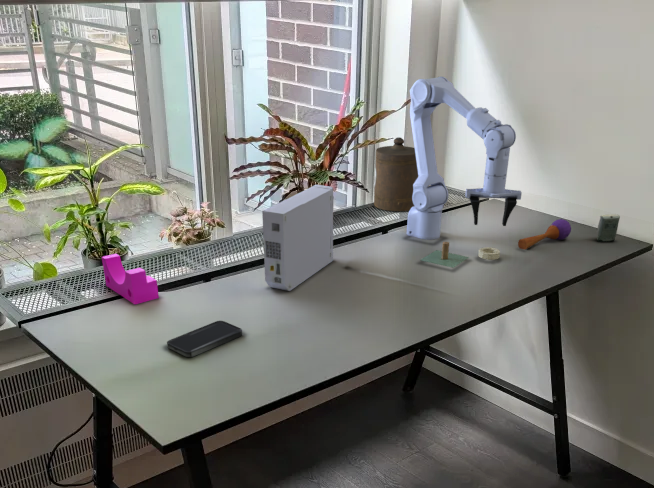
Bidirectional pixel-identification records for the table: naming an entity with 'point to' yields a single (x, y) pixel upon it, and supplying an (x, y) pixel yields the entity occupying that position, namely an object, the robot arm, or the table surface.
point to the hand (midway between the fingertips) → (489, 224)
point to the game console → (298, 237)
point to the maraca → (548, 234)
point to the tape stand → (444, 257)
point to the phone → (204, 338)
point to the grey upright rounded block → (607, 228)
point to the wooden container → (395, 177)
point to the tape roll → (489, 253)
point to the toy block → (129, 281)
